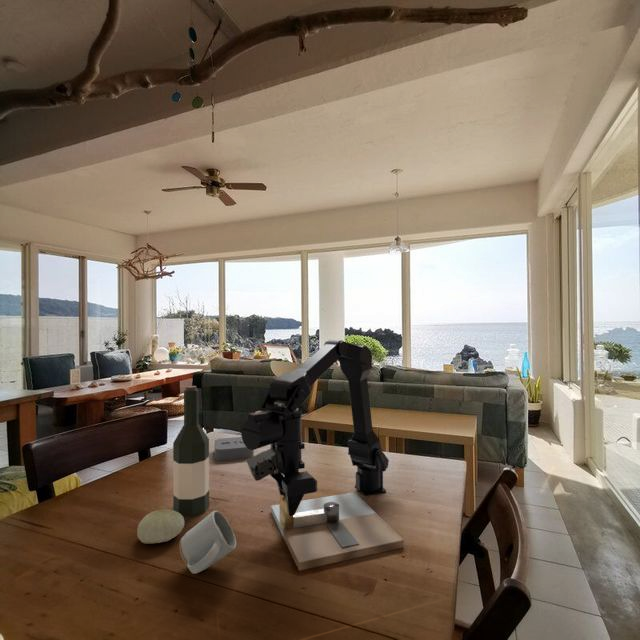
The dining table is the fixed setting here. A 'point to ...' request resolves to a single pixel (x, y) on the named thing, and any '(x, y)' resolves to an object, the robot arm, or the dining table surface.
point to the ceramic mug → (207, 542)
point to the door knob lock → (307, 515)
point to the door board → (338, 533)
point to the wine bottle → (191, 461)
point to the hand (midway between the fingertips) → (288, 510)
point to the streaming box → (231, 449)
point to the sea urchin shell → (160, 526)
